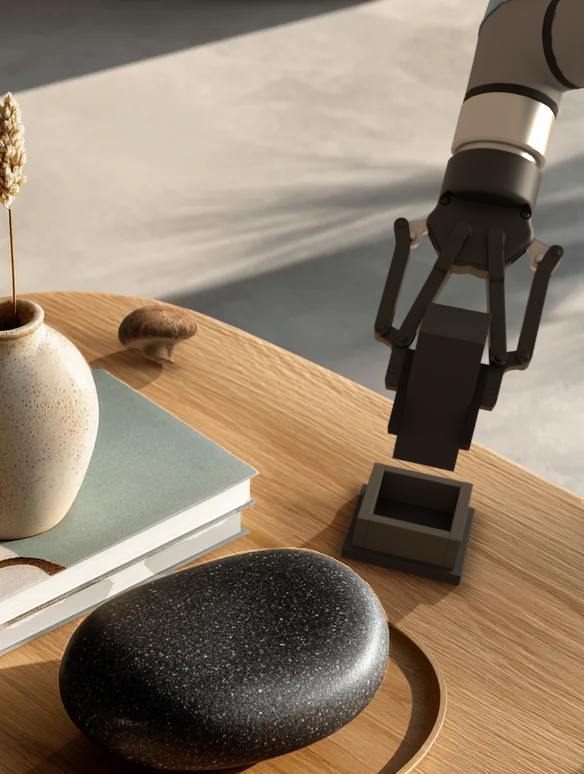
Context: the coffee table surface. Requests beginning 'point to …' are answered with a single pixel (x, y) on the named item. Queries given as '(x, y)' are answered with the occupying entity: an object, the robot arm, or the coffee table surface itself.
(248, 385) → the coffee table surface
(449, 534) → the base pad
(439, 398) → the dark rectangular block
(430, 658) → the coffee table surface
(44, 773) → the coffee table surface
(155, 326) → the mushroom
